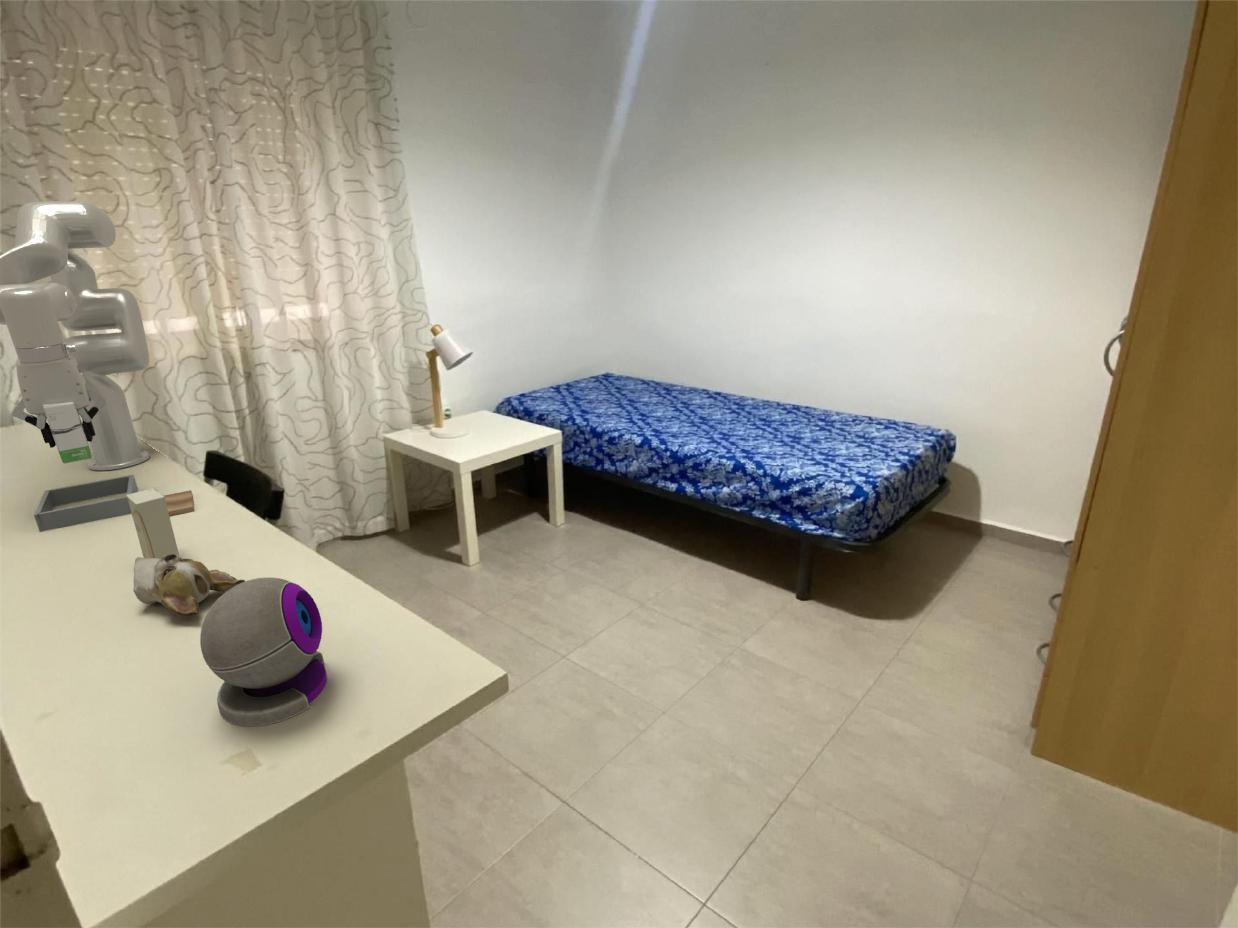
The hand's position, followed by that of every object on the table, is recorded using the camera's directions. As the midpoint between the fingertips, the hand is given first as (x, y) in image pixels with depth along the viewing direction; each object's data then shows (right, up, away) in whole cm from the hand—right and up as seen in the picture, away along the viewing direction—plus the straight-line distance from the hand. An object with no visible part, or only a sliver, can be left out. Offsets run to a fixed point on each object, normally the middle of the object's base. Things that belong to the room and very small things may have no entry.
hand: (71, 441), depth 138 cm
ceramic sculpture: (+44, -26, -32) cm, 60 cm away
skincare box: (+31, -21, -18) cm, 41 cm away
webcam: (+68, -33, -53) cm, 92 cm away
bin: (+1, -14, +4) cm, 15 cm away
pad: (+17, -14, +4) cm, 22 cm away
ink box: (0, -3, +1) cm, 3 cm away
